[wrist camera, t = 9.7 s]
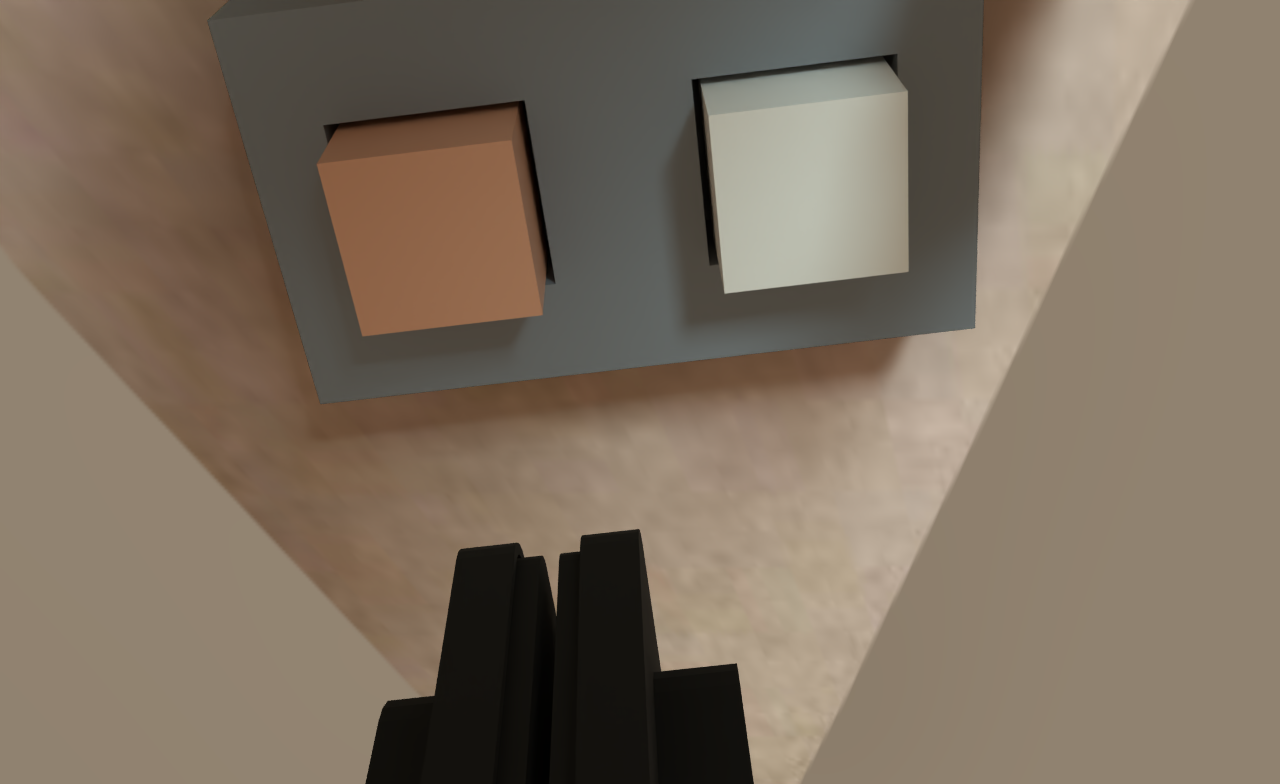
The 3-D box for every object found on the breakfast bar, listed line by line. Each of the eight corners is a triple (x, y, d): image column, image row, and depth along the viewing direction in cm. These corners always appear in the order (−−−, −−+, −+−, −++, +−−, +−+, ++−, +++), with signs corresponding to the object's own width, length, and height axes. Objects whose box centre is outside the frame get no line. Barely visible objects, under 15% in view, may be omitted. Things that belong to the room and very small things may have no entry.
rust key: (345, 112, 42) (316, 163, 37) (520, 90, 41) (511, 140, 37) (385, 271, 45) (362, 336, 40) (548, 252, 44) (542, 315, 40)
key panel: (247, -16, 42) (207, 20, 38) (945, -106, 41) (985, -79, 37) (345, 339, 49) (320, 404, 45) (941, 269, 48) (974, 328, 44)
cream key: (697, 68, 41) (708, 115, 37) (875, 46, 41) (907, 91, 37) (712, 232, 44) (724, 293, 40) (878, 212, 44) (908, 271, 40)
